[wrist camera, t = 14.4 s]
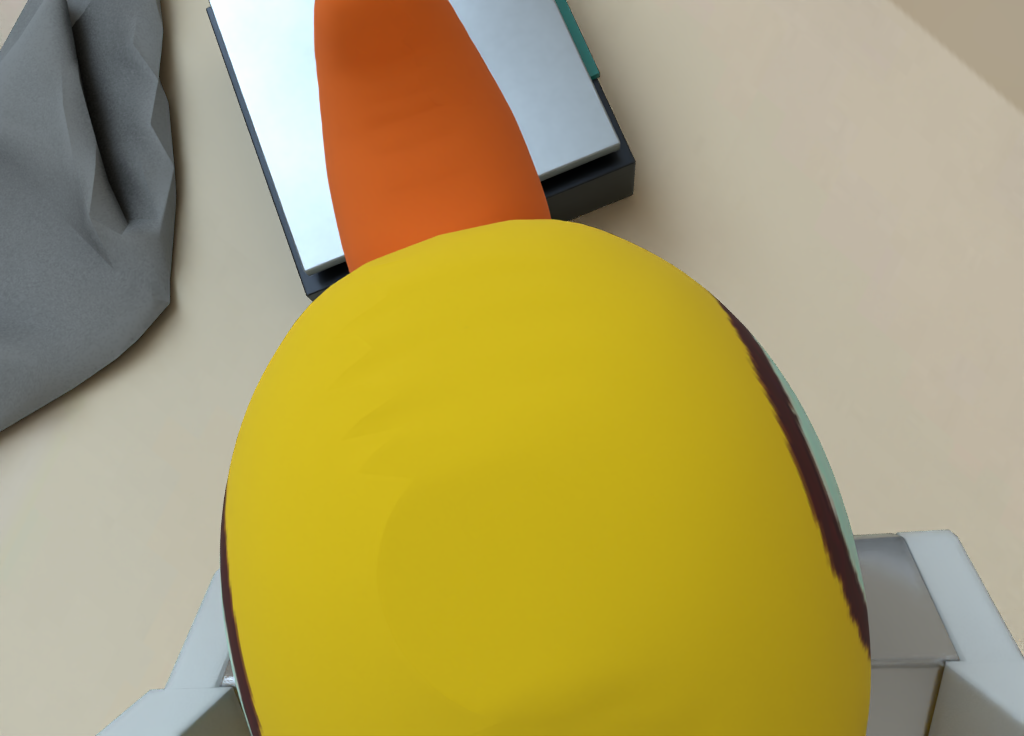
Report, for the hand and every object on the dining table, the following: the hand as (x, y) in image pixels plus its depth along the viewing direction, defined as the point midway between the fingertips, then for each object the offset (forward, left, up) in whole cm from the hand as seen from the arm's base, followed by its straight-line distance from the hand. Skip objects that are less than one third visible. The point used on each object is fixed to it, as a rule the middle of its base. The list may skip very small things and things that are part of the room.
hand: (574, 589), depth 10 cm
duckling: (0, +1, -5) cm, 5 cm away
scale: (0, -18, -21) cm, 28 cm away
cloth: (+16, -20, -22) cm, 33 cm away
